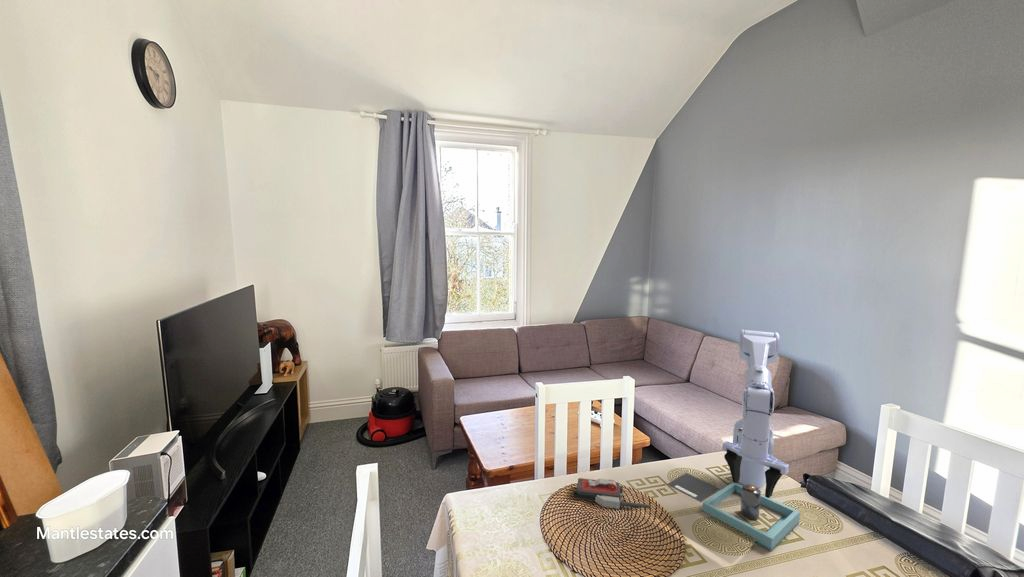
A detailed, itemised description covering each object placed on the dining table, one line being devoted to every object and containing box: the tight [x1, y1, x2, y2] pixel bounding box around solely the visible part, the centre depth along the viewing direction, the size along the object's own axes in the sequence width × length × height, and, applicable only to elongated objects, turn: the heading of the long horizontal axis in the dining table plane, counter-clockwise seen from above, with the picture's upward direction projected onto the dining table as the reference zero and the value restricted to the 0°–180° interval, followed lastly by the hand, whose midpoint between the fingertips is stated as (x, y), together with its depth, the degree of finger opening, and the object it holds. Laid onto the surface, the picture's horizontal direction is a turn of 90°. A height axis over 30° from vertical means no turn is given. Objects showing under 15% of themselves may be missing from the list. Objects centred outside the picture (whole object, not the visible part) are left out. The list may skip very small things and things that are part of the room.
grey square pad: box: [666, 472, 720, 503], centre depth 115 cm, size 10×10×1 cm
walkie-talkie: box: [572, 477, 652, 510], centre depth 111 cm, size 9×4×20 cm
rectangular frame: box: [701, 481, 801, 552], centre depth 103 cm, size 16×16×3 cm
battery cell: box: [740, 485, 762, 521], centre depth 102 cm, size 4×4×8 cm
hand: (751, 488), depth 102 cm, fingers open, 7 cm apart
